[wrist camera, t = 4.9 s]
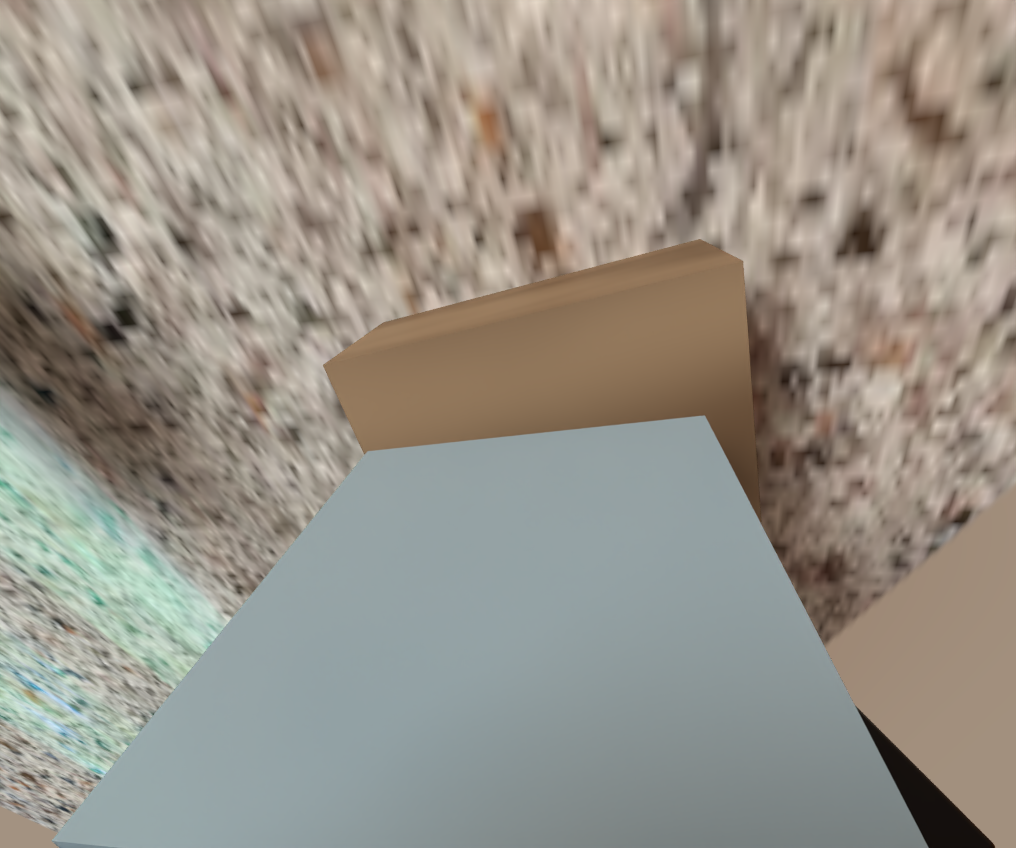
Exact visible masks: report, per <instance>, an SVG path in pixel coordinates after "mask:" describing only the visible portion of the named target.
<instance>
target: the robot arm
mask: <svg viewBox="0 0 1016 848" xmlns="http://www.w3.org/2000/svg"><path fill="white" fill-rule="evenodd" d="M855 707H856V706H855ZM856 709H857V710H858V712H859V714H860V716H861V718H862V720H863V722H864V724H865V726H866V728H867V730H868V732H869V734H870V736H871V738H872V739H873V741H874V743H875V745H876V747H877V749H878V751H879V753H880V755H881V757H882V759H883V761H884V763H885V765H886V766H887V768H888V770H889V772H890V774H891V776H892V778H893V780H894V782H895V784H896V786H897V788H898V790H899V792H900V794H901V795H902V797H903V799H904V801H905V803H906V805H907V807H908V809H909V811H910V813H911V815H912V817H913V819H914V821H915V823H916V824H917V826H918V828H919V830H920V832H921V834H922V836H923V838H924V840H925V842H926V844H927V846H928V848H995V846H994V844H993V843H992V842H991V841H990V840H989V839H988V838H987V837H986V836H985V835H984V834H983V833H982V832H981V831H980V830H979V829H978V828H977V827H976V826H975V825H974V824H973V823H972V822H971V821H970V820H969V819H968V818H967V817H966V816H965V815H964V814H963V813H962V812H961V811H960V810H959V809H958V808H957V807H956V806H955V805H954V804H953V803H952V802H951V801H950V800H949V799H948V798H947V797H946V796H945V795H944V794H943V793H942V792H941V791H940V790H939V789H938V788H937V787H936V786H935V785H934V784H933V783H932V782H931V781H930V780H929V779H928V778H927V777H926V776H925V775H924V774H923V773H922V772H921V771H920V770H919V769H918V768H917V767H916V766H915V765H914V764H913V763H912V762H911V761H910V760H909V759H908V758H907V757H906V756H905V755H904V754H903V753H902V752H901V751H900V750H899V749H898V748H897V747H896V746H895V745H894V744H893V743H892V742H891V741H890V740H889V739H888V738H887V737H886V736H885V735H884V734H883V733H882V732H881V731H880V730H879V729H878V728H877V727H876V726H875V725H874V724H873V723H872V722H871V721H870V720H869V719H868V718H867V717H866V716H865V715H864V714H863V713H862V712H861V711H860V710H859V709H858V708H857V707H856Z"/></svg>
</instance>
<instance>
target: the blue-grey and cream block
mask: <svg viewBox="0 0 1016 848" xmlns="http://www.w3.org/2000/svg"><path fill="white" fill-rule="evenodd" d="M52 842H54V843H55V844H56V845H57V846H58V847H59V848H928V846H927V844H926V842H925V840H924V838H923V836H922V834H921V832H920V830H919V828H918V826H917V824H916V823H915V821H914V819H913V817H912V815H911V813H910V811H909V809H908V807H907V805H906V803H905V801H904V799H903V797H902V795H901V794H900V792H899V790H898V788H897V786H896V784H895V782H894V780H893V778H892V776H891V774H890V772H889V770H888V768H887V766H886V765H885V763H884V761H883V759H882V757H881V755H880V753H879V751H878V749H877V747H876V745H875V743H874V741H873V739H872V738H871V736H870V734H869V732H868V730H867V728H866V726H865V724H864V722H863V720H862V718H861V716H860V714H859V712H858V710H857V709H856V707H855V705H854V703H853V701H852V699H851V697H850V695H849V693H848V691H847V689H846V688H845V685H844V683H843V682H842V680H841V678H840V676H839V674H838V672H837V670H836V668H835V666H834V664H833V662H832V660H831V658H830V657H829V654H828V652H827V651H826V649H825V647H824V645H823V643H822V641H821V639H820V637H819V635H818V633H817V631H816V629H815V627H814V625H813V623H812V622H811V620H810V618H809V616H808V614H807V612H806V610H805V608H804V606H803V604H802V602H801V600H800V598H799V596H798V594H797V593H796V591H795V589H794V587H793V585H792V583H791V581H790V579H789V577H788V575H787V573H786V571H785V569H784V567H783V565H782V564H781V562H780V560H779V558H778V556H777V554H776V552H775V550H774V548H773V546H772V544H771V542H770V540H769V538H768V537H767V535H766V533H765V531H764V529H763V527H762V525H761V523H760V521H759V519H758V517H757V515H756V513H755V511H754V509H753V508H752V506H751V504H750V502H749V500H748V498H747V496H746V494H745V492H744V490H743V488H742V486H741V484H740V482H739V480H738V479H737V477H736V475H735V473H734V471H733V469H732V467H731V465H730V463H729V461H728V459H727V457H726V455H725V453H724V451H723V450H722V448H721V446H720V444H719V442H718V440H717V438H716V436H715V434H714V432H713V430H712V428H711V426H710V424H709V422H708V421H707V419H706V417H705V415H704V416H695V417H685V418H676V419H667V420H657V421H648V422H638V423H629V424H620V425H610V426H601V427H591V428H582V429H573V430H563V431H554V432H544V433H535V434H525V435H516V436H507V437H497V438H488V439H478V440H469V441H460V442H450V443H441V444H431V445H422V446H413V447H403V448H394V449H384V450H375V451H367V452H366V454H365V455H364V456H363V457H362V459H361V460H360V461H359V462H358V464H357V465H356V466H355V467H354V469H353V470H352V471H351V472H350V473H349V475H348V476H347V477H346V478H345V480H344V481H343V482H342V483H341V485H340V486H339V487H338V488H337V489H336V491H335V492H334V493H333V494H332V496H331V497H330V498H329V499H328V501H327V502H326V503H325V504H324V506H323V507H322V508H321V509H320V510H319V512H318V513H317V514H316V515H315V517H314V518H313V519H312V520H311V522H310V523H309V524H308V525H307V526H306V528H305V529H304V530H303V531H302V533H301V534H300V535H299V536H298V538H297V539H296V540H295V541H294V543H293V544H292V545H291V546H290V547H289V549H288V550H287V551H286V552H285V554H284V555H283V556H282V557H281V559H280V560H279V561H278V562H277V563H276V565H275V566H274V567H273V568H272V570H271V571H270V572H269V573H268V575H267V576H266V577H265V578H264V580H263V581H262V582H261V583H260V584H259V586H258V587H257V588H256V589H255V591H254V592H253V593H252V594H251V596H250V597H249V598H248V599H247V601H246V602H245V603H244V604H243V605H242V607H241V608H240V609H239V610H238V612H237V613H236V614H235V615H234V617H233V618H232V619H231V620H230V621H229V623H228V624H227V625H226V626H225V628H224V629H223V630H222V631H221V633H220V634H219V635H218V636H217V638H216V639H215V640H214V641H213V642H212V644H211V645H210V646H209V647H208V649H207V650H206V651H205V652H204V654H203V655H202V656H201V657H200V658H199V660H198V661H197V662H196V663H195V665H194V666H193V667H192V668H191V670H190V671H189V672H188V673H187V675H186V676H185V677H184V678H183V679H182V681H181V682H180V683H179V684H178V686H177V687H176V688H175V689H174V691H173V692H172V693H171V694H170V695H169V697H168V698H167V699H166V700H165V702H164V703H163V704H162V705H161V707H160V708H159V709H158V710H157V712H156V713H155V714H154V715H153V716H152V718H151V719H150V720H149V721H148V723H147V724H146V725H145V726H144V728H143V729H142V730H141V731H140V732H139V734H138V735H137V736H136V737H135V739H134V740H133V741H132V742H131V744H130V745H129V746H128V747H127V749H126V750H125V751H124V752H123V753H122V755H121V756H120V757H119V758H118V760H117V761H116V762H115V763H114V765H113V766H112V767H111V768H110V769H109V771H108V772H107V773H106V774H105V776H104V777H103V778H102V779H101V781H100V782H99V783H98V784H97V786H96V787H95V788H94V789H93V790H92V792H91V793H90V794H89V795H88V797H87V798H86V799H85V800H84V802H83V803H82V804H81V805H80V807H79V808H78V809H77V810H76V811H75V813H74V814H73V815H72V816H71V818H70V819H69V820H68V821H67V823H66V824H65V825H64V826H63V827H62V829H61V830H60V831H59V832H58V834H57V835H56V836H55V838H54V839H53V840H52Z"/></svg>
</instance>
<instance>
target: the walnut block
mask: <svg viewBox="0 0 1016 848" xmlns="http://www.w3.org/2000/svg"><path fill="white" fill-rule="evenodd" d="M323 366H324V369H325V371H326V373H327V375H328V377H329V379H330V382H331V384H332V386H333V388H334V390H335V392H336V394H337V397H338V399H339V401H340V403H341V405H342V407H343V409H344V412H345V414H346V416H347V418H348V420H349V422H350V425H351V427H352V429H353V431H354V433H355V435H356V437H357V440H358V442H359V444H360V446H361V448H362V450H363V452H364V455H365V454H366V452H367V451H375V450H384V449H394V448H403V447H413V446H422V445H431V444H441V443H450V442H460V441H469V440H478V439H488V438H497V437H507V436H516V435H525V434H535V433H544V432H554V431H563V430H573V429H582V428H591V427H601V426H610V425H620V424H629V423H638V422H648V421H657V420H667V419H676V418H685V417H695V416H704V415H705V417H706V419H707V421H708V422H709V424H710V426H711V428H712V430H713V432H714V434H715V436H716V438H717V440H718V442H719V444H720V446H721V448H722V450H723V451H724V453H725V455H726V457H727V459H728V461H729V463H730V465H731V467H732V469H733V471H734V473H735V475H736V477H737V479H738V480H739V482H740V484H741V486H742V488H743V490H744V492H745V494H746V496H747V498H748V500H749V502H750V504H751V506H752V508H753V509H754V511H755V513H756V515H757V517H758V519H759V521H760V523H761V511H760V496H759V482H758V468H757V454H756V439H755V425H754V411H753V397H752V382H751V368H750V354H749V340H748V325H747V311H746V297H745V283H744V268H743V261H742V260H740V259H738V258H736V257H734V256H732V255H730V254H728V253H726V252H724V251H722V250H720V249H718V248H716V247H714V246H713V245H711V244H709V243H707V242H705V241H703V240H701V239H698V240H695V241H691V242H687V243H683V244H679V245H676V246H672V247H668V248H664V249H661V250H657V251H653V252H649V253H645V254H642V255H638V256H634V257H630V258H626V259H623V260H619V261H615V262H611V263H607V264H604V265H600V266H596V267H592V268H589V269H585V270H581V271H577V272H573V273H570V274H566V275H562V276H558V277H554V278H551V279H547V280H543V281H539V282H535V283H532V284H528V285H524V286H520V287H516V288H513V289H509V290H505V291H501V292H498V293H494V294H490V295H486V296H482V297H479V298H475V299H471V300H467V301H463V302H460V303H456V304H452V305H448V306H444V307H441V308H437V309H433V310H429V311H426V312H422V313H418V314H414V315H410V316H407V317H403V318H399V319H395V320H391V321H388V322H384V323H382V324H380V325H379V326H378V327H376V328H375V329H373V330H372V331H371V332H369V333H368V334H366V335H365V336H364V337H362V338H361V339H359V340H358V341H356V342H355V343H354V344H352V345H351V346H349V347H348V348H347V349H345V350H344V351H342V352H341V353H339V354H338V355H337V356H335V357H334V358H332V359H331V360H330V361H328V362H327V363H325V364H324V365H323Z"/></svg>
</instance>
